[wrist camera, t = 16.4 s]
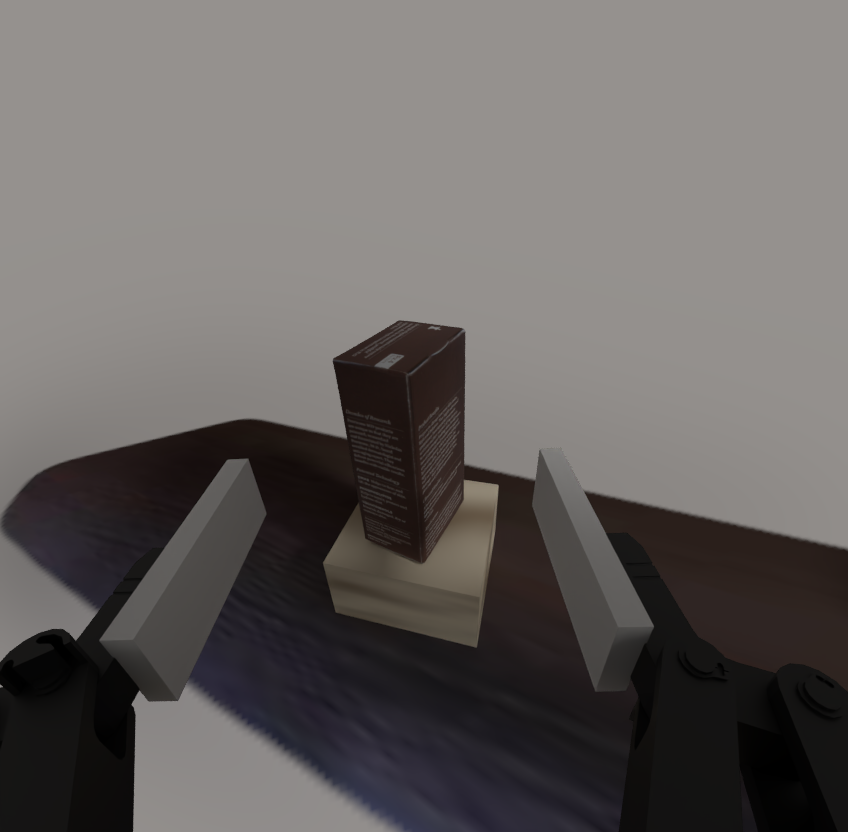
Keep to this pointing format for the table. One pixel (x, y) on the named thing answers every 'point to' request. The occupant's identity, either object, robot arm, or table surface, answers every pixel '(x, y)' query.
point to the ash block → (420, 574)
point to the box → (406, 432)
